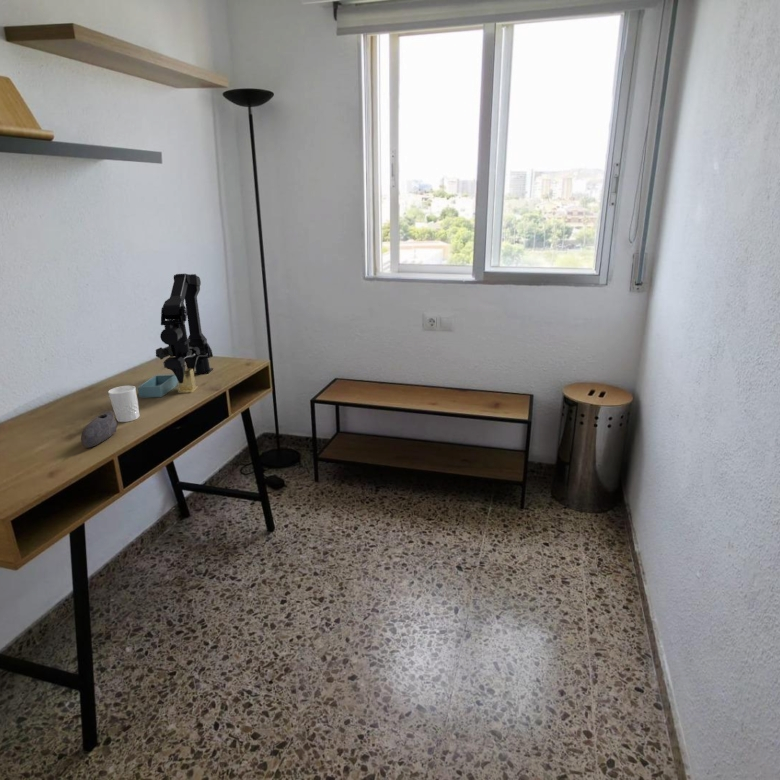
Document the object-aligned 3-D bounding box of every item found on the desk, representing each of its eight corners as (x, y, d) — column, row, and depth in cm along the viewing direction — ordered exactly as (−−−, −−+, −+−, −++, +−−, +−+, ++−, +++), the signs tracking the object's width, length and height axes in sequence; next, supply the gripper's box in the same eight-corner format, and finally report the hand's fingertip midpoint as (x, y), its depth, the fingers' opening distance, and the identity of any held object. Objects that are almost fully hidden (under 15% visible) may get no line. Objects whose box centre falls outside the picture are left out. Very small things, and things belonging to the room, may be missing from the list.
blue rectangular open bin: (157, 385, 203) (155, 375, 202) (178, 384, 203) (176, 374, 202) (139, 397, 190) (137, 387, 189) (161, 397, 190) (159, 386, 188)
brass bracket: (185, 387, 199) (181, 367, 196) (198, 387, 199) (194, 367, 196) (178, 393, 193) (174, 372, 191) (191, 392, 193) (188, 371, 190)
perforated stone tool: (93, 452, 147) (87, 429, 145) (75, 452, 148) (69, 429, 146) (124, 430, 162) (119, 409, 159) (108, 430, 162) (103, 409, 160)
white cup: (131, 423, 167) (124, 393, 163) (109, 422, 168) (102, 393, 165) (146, 414, 174) (140, 385, 171) (125, 413, 175) (119, 385, 172)
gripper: (168, 333, 199) (175, 372, 204) (144, 345, 181) (153, 388, 186) (197, 332, 198) (203, 371, 203) (176, 344, 181) (184, 387, 186)
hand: (186, 379), depth 195 cm, fingers open, 9 cm apart
